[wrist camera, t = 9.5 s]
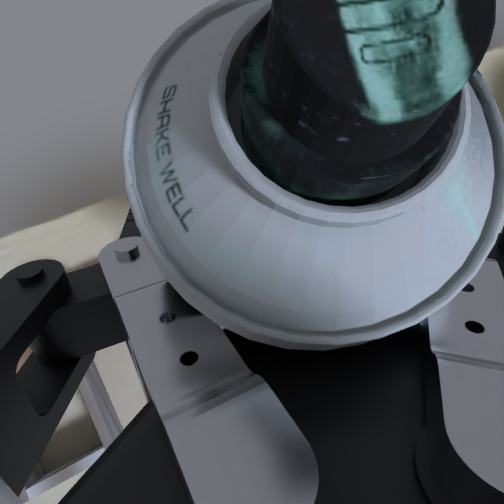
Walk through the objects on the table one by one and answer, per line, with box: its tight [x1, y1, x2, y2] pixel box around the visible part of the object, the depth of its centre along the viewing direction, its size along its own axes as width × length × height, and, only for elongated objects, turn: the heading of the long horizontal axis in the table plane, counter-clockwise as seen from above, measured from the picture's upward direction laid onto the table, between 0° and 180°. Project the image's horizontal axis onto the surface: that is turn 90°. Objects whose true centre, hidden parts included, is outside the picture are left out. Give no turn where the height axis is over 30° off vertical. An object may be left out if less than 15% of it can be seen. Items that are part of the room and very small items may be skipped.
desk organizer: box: [16, 345, 123, 504], centre depth 33 cm, size 14×15×4 cm
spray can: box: [121, 0, 504, 351], centre depth 13 cm, size 6×6×20 cm
